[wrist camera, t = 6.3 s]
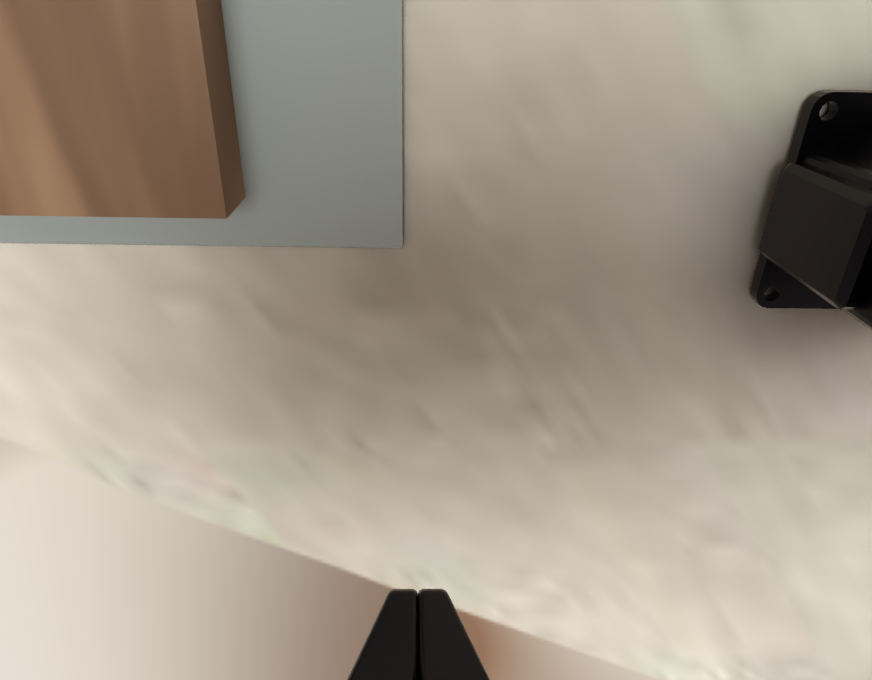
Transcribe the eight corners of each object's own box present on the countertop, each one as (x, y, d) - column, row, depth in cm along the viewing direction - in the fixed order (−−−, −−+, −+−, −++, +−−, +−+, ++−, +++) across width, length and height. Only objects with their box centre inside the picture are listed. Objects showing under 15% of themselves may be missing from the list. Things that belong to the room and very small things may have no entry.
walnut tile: (188, -52, 13) (-196, -64, 13) (226, 218, 16) (-88, 214, 16) (216, -45, 15) (-121, -55, 15) (246, 197, 18) (-36, 192, 18)
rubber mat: (401, -112, 15) (401, -114, 15) (402, 244, 19) (402, 248, 19) (-246, -134, 14) (-258, -137, 14) (-95, 237, 19) (-103, 241, 18)
